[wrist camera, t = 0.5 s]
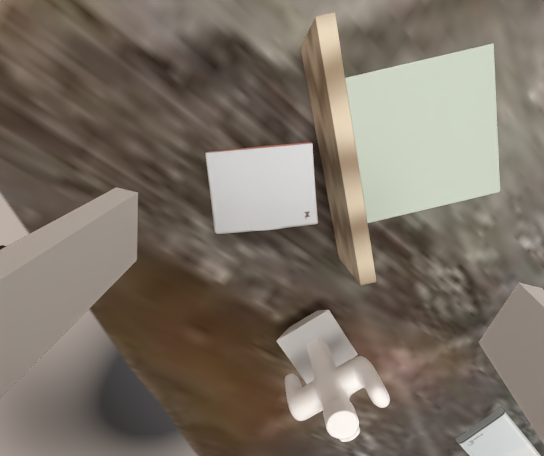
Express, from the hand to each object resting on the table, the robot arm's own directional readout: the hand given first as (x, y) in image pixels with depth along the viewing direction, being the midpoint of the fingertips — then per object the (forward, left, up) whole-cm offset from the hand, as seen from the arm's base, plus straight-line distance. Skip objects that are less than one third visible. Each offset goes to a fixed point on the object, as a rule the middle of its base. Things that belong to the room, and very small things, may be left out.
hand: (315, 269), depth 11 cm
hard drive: (+46, +25, -27) cm, 59 cm away
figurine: (+19, +1, -26) cm, 33 cm away
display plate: (-2, +18, -26) cm, 32 cm away
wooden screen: (-2, +7, -26) cm, 27 cm away
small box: (-2, -1, -26) cm, 26 cm away
